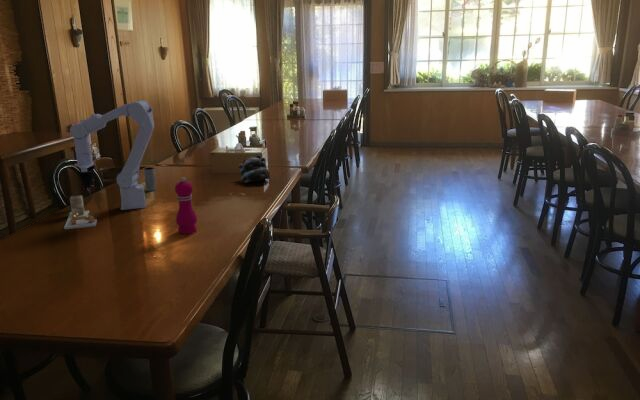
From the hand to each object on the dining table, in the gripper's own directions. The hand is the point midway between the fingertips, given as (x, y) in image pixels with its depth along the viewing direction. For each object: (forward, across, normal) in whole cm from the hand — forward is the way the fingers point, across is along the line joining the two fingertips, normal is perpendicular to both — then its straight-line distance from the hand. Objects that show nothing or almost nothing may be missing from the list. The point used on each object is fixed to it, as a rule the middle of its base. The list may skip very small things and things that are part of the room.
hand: (88, 185), depth 208 cm
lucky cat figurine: (+10, -18, +71) cm, 74 cm away
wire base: (+9, +20, -2) cm, 22 cm away
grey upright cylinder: (+10, -19, +24) cm, 32 cm away
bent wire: (+9, +19, -1) cm, 21 cm away
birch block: (+9, +9, -4) cm, 13 cm away
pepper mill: (+10, +43, +35) cm, 56 cm away
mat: (+9, +9, -4) cm, 14 cm away
